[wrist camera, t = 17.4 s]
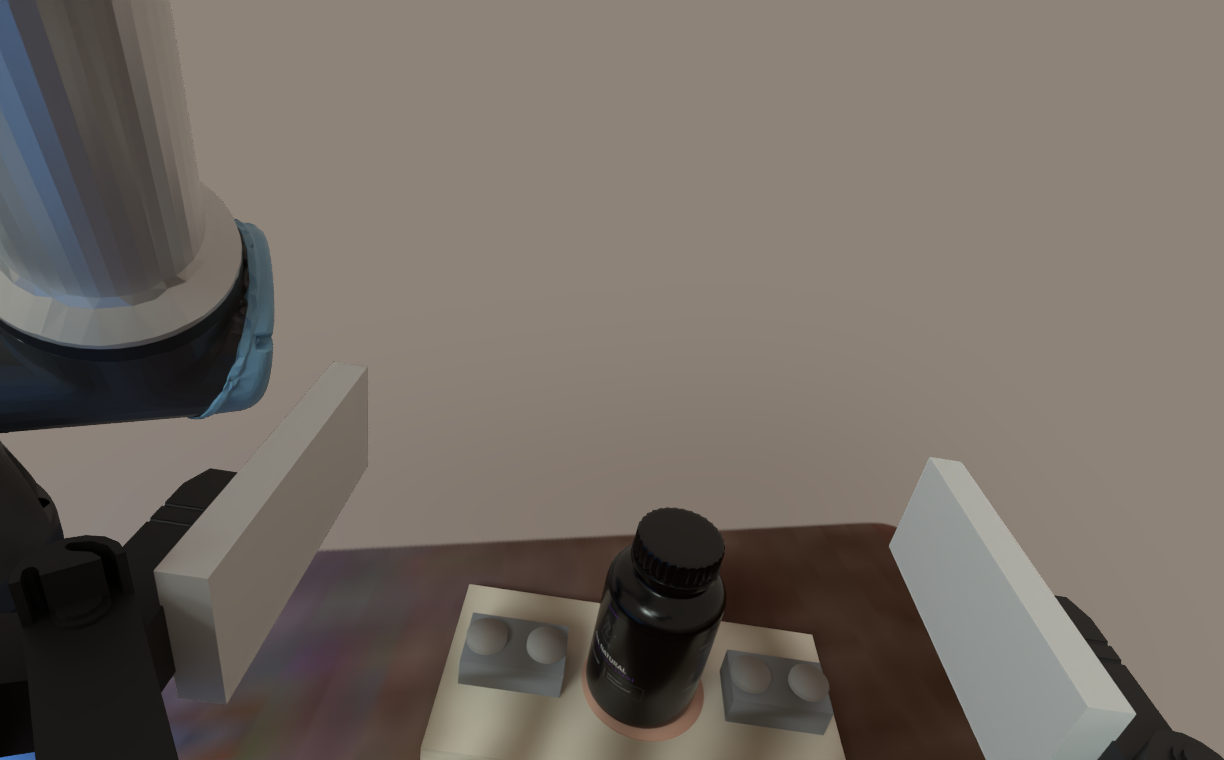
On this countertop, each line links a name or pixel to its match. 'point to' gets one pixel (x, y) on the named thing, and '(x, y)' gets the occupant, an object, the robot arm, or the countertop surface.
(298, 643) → the countertop surface
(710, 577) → the supplement bottle
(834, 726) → the cream base tray
